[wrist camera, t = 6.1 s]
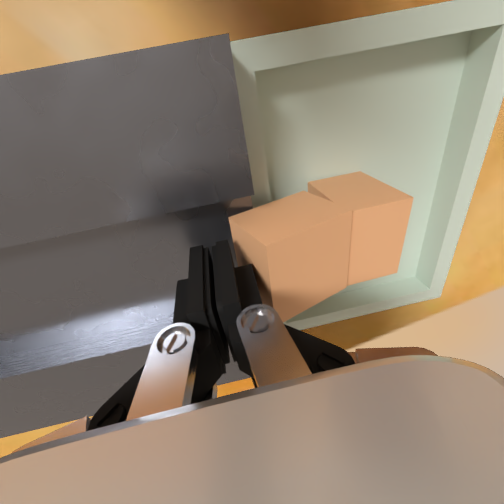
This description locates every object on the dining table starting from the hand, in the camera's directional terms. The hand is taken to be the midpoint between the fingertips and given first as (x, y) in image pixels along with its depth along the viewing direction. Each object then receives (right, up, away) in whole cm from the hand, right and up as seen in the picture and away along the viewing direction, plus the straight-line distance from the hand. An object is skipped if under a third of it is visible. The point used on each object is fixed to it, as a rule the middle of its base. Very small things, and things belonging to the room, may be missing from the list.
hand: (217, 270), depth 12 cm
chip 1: (+3, +1, +1) cm, 3 cm away
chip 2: (+5, +2, +2) cm, 6 cm away
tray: (+7, +4, +4) cm, 9 cm away
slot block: (-7, +1, +3) cm, 8 cm away
